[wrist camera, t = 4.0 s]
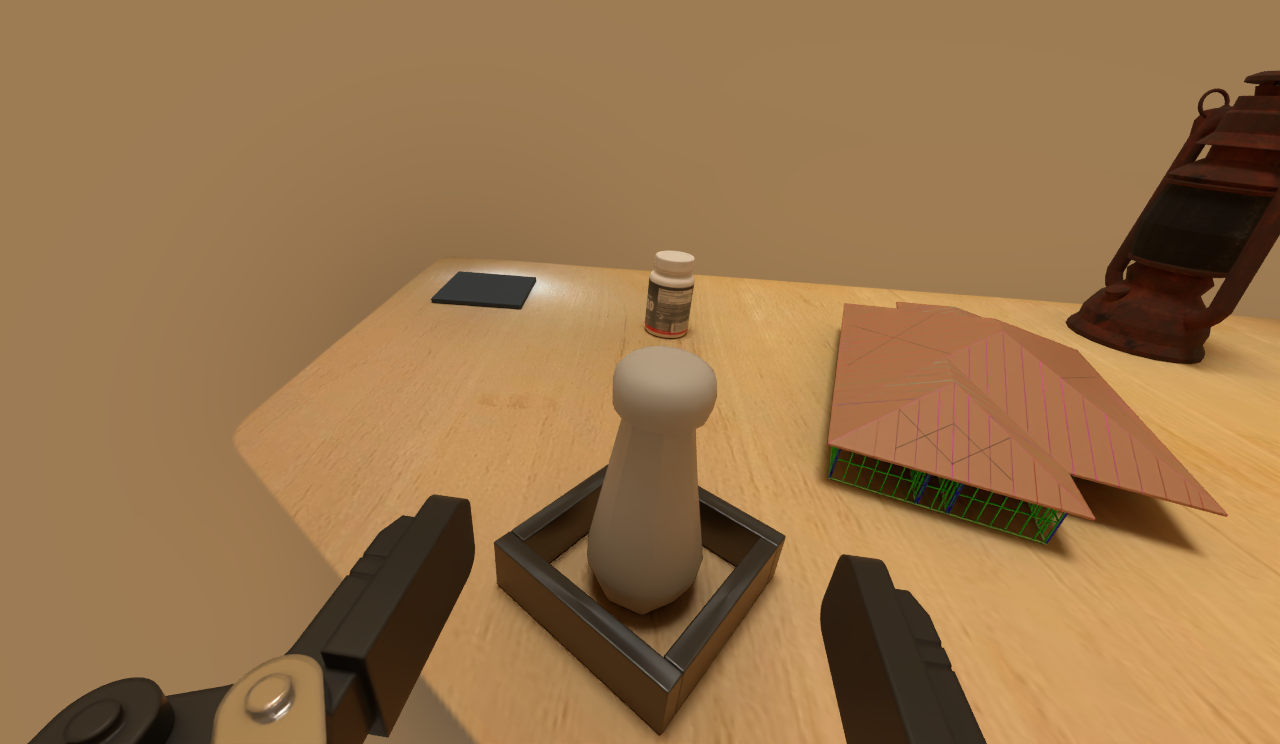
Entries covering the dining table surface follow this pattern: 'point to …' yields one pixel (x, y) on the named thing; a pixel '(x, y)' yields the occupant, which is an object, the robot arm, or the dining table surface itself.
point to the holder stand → (606, 640)
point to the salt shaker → (652, 480)
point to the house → (991, 414)
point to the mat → (485, 290)
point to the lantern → (1196, 234)
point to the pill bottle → (670, 294)
